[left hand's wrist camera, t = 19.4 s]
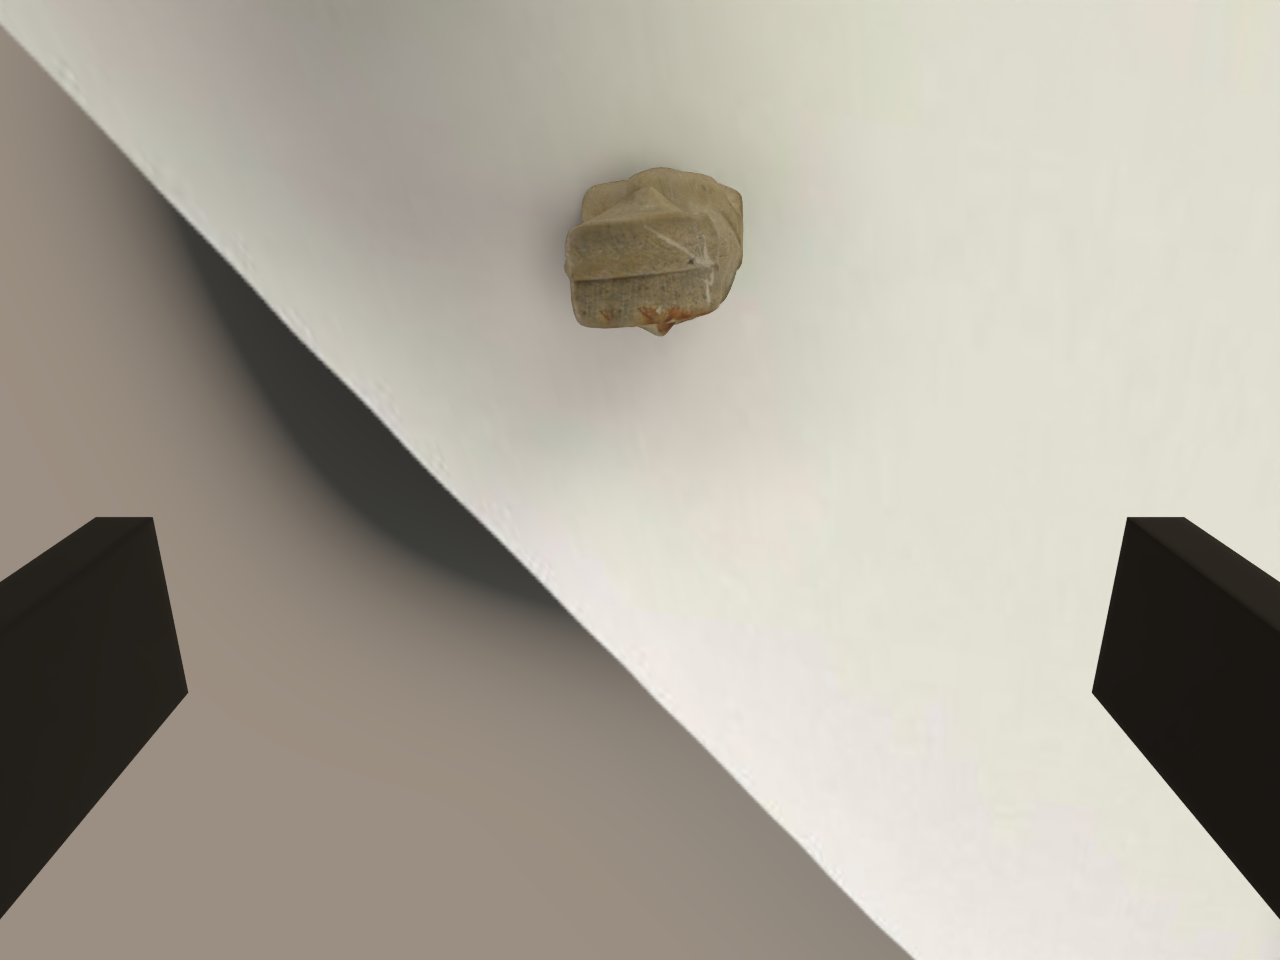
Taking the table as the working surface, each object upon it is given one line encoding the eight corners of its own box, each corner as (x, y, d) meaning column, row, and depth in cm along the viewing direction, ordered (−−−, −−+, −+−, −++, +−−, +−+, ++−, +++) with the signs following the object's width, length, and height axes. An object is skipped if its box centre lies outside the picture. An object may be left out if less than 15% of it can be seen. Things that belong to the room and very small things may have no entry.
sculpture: (580, 164, 41) (550, 172, 27) (738, 162, 41) (788, 169, 27) (585, 292, 43) (559, 362, 29) (735, 290, 43) (780, 359, 29)
